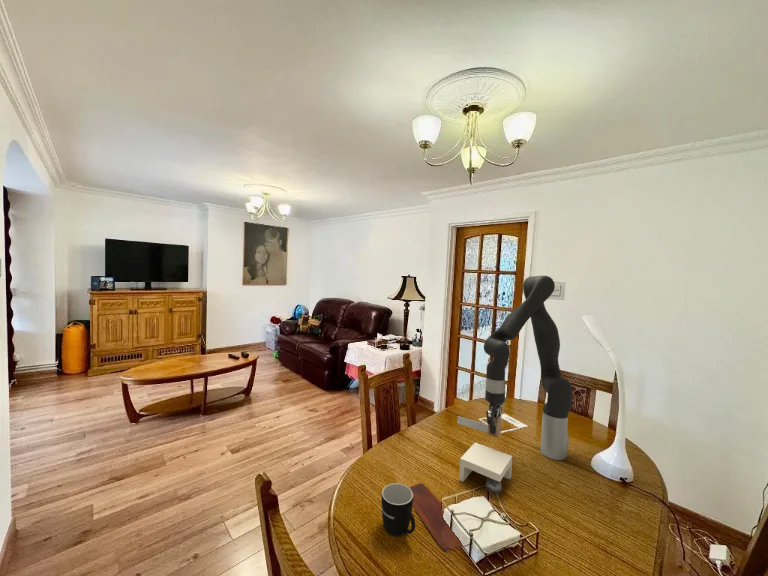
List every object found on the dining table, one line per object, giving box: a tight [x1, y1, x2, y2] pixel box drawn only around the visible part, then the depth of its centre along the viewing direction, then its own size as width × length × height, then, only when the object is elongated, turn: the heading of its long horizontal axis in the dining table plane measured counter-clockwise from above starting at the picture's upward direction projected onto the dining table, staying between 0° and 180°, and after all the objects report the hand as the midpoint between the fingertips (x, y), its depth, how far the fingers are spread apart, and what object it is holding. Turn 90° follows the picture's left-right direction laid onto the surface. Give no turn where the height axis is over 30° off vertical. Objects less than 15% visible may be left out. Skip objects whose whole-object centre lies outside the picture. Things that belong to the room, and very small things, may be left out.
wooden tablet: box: [408, 483, 464, 553], centre depth 97 cm, size 27×10×2 cm, turn 23°
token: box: [485, 477, 502, 495], centre depth 109 cm, size 5×5×2 cm
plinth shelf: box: [458, 442, 513, 482], centre depth 114 cm, size 14×14×8 cm
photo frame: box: [478, 413, 529, 434], centre depth 158 cm, size 15×1×18 cm
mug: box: [381, 482, 416, 537], centre depth 89 cm, size 12×9×10 cm
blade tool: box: [456, 414, 502, 439], centre depth 130 cm, size 18×4×8 cm, turn 54°
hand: (494, 431), depth 126 cm, fingers closed on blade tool, 4 cm apart
